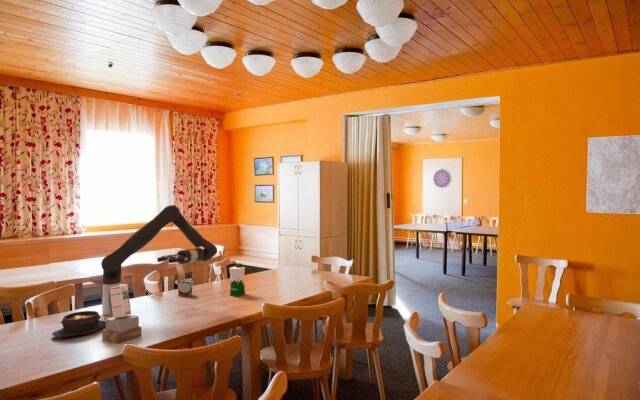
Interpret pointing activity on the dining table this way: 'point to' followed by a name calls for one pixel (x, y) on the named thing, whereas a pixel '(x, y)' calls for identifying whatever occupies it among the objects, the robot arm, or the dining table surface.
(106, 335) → the walnut base block
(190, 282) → the food container
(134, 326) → the white square block
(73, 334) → the casserole
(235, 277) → the milk carton
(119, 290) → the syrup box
